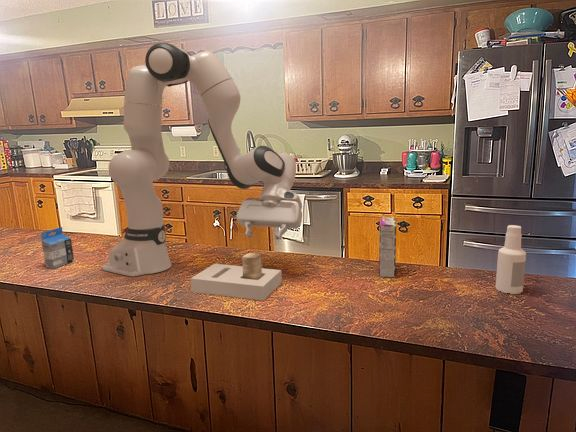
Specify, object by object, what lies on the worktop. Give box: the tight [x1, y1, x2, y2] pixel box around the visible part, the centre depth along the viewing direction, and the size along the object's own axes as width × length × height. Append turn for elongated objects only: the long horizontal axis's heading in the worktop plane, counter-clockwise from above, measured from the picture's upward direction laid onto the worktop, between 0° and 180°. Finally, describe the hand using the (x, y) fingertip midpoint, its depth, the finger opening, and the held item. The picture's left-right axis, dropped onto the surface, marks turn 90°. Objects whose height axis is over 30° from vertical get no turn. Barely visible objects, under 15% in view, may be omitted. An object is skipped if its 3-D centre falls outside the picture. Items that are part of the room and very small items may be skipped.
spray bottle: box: [494, 224, 527, 295], centre depth 122 cm, size 7×7×18 cm
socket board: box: [190, 263, 283, 302], centre depth 129 cm, size 22×14×4 cm, turn 71°
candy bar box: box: [378, 216, 397, 278], centre depth 139 cm, size 11×5×16 cm, turn 168°
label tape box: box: [40, 226, 75, 270], centre depth 153 cm, size 9×4×12 cm, turn 160°
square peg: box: [241, 252, 263, 280], centre depth 127 cm, size 4×4×10 cm
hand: (262, 237), depth 133 cm, fingers open, 8 cm apart
